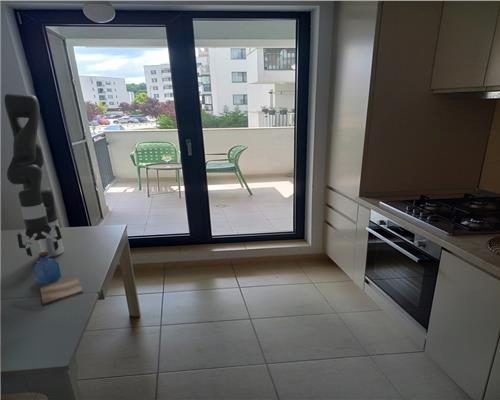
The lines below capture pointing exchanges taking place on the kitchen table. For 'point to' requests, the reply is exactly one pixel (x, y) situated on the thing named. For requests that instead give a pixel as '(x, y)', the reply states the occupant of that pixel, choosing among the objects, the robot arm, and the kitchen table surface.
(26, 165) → the robot arm
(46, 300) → the walnut board
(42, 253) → the perfume bottle
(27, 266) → the kitchen table surface
